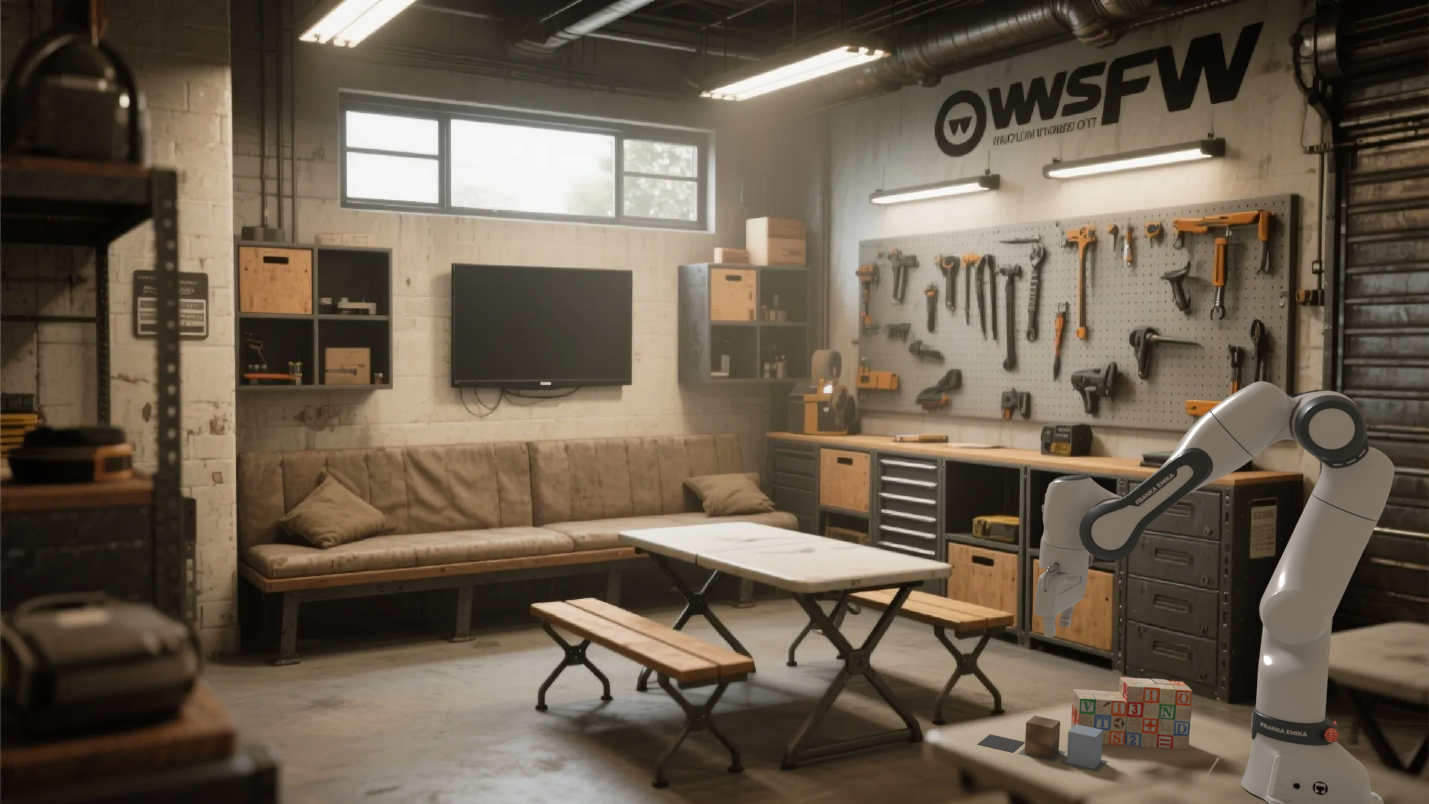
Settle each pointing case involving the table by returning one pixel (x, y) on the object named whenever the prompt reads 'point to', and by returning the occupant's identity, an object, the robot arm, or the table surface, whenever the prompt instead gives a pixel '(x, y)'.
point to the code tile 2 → (1086, 767)
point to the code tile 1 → (1042, 757)
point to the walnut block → (1042, 737)
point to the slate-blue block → (1084, 746)
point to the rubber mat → (1001, 743)
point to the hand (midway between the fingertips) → (1057, 631)
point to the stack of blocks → (1137, 713)
